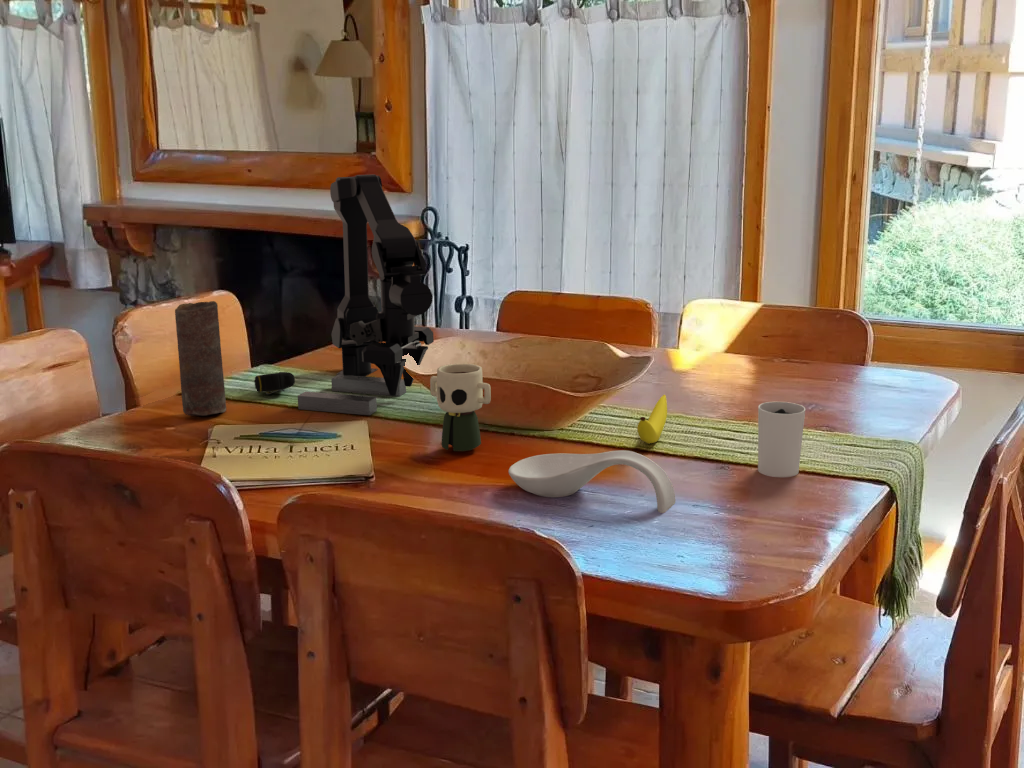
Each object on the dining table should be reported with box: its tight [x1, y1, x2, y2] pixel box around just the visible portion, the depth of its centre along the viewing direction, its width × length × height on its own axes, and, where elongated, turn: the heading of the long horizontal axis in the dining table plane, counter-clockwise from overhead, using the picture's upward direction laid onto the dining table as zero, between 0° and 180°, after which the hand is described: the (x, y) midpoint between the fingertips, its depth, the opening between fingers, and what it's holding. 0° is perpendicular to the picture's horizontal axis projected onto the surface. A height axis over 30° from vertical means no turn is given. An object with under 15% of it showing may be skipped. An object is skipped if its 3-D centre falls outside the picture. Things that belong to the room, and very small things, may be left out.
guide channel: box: [297, 375, 407, 416], centre depth 199 cm, size 16×14×2 cm
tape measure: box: [253, 371, 296, 395], centre depth 203 cm, size 7×7×4 cm
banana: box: [636, 394, 668, 445], centre depth 174 cm, size 3×19×6 cm, turn 162°
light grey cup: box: [757, 401, 806, 478], centre depth 157 cm, size 7×7×10 cm
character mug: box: [429, 363, 492, 452], centre depth 169 cm, size 11×7×13 cm, turn 61°
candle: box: [174, 300, 227, 417], centre depth 188 cm, size 8×7×20 cm
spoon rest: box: [508, 449, 676, 514], centre depth 149 cm, size 24×12×7 cm, turn 63°
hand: (400, 390), depth 195 cm, fingers open, 6 cm apart
